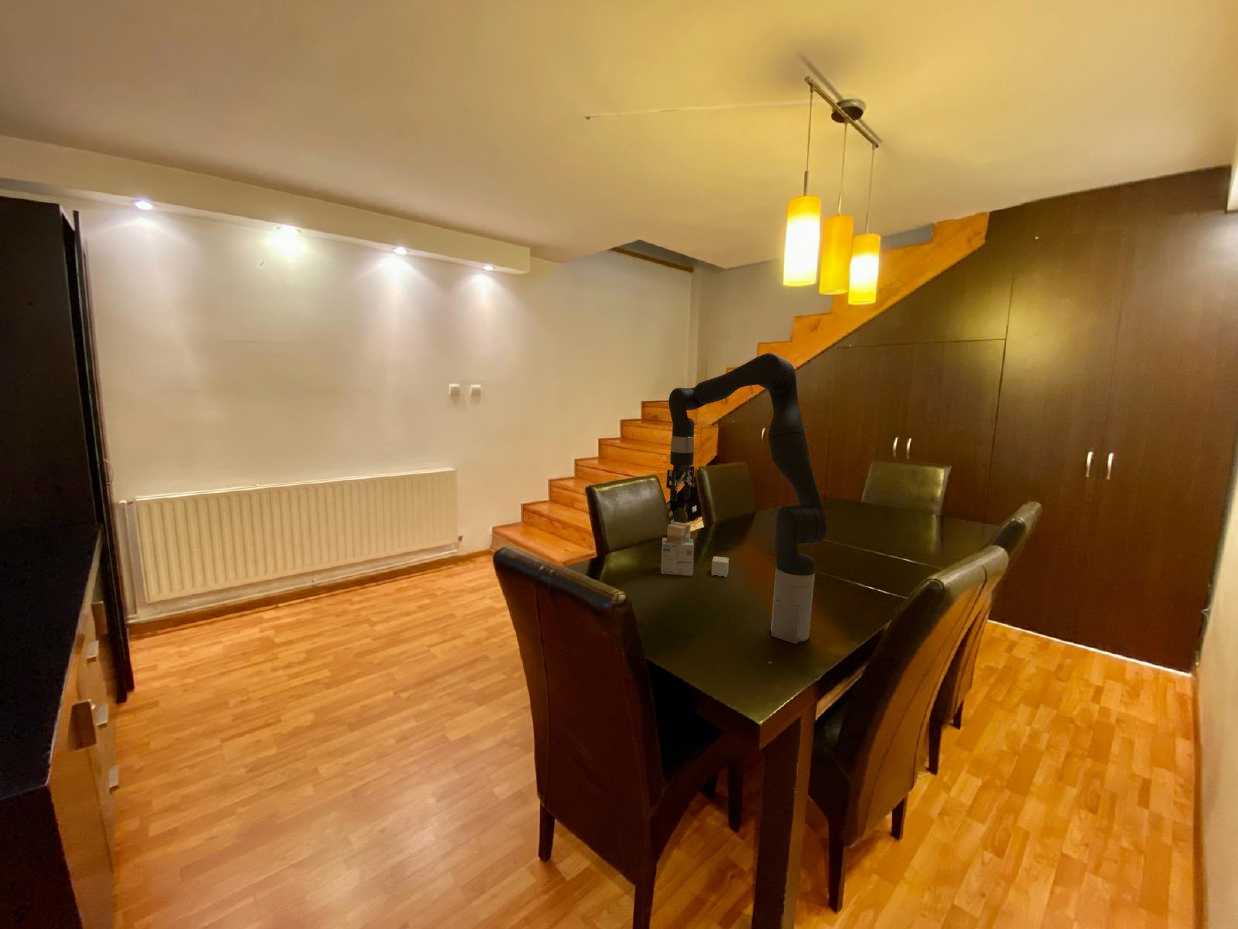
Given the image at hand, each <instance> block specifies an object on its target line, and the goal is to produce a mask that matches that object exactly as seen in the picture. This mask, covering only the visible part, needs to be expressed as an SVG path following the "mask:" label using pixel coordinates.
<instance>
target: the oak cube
mask: <svg viewBox="0 0 1238 929" xmlns="http://www.w3.org/2000/svg"><path fill="white" fill-rule="evenodd" d="M666 538H667V541H668V542H673V543H677V544H681V545H682V544H684V543H686V542H688V541H690V539H691V524H687V523H683V522H678V521H674V522H673V523H670V524H668V525H667V533H666Z"/></svg>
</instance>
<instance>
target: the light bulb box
mask: <svg viewBox="0 0 1238 929" xmlns="http://www.w3.org/2000/svg"><path fill="white" fill-rule="evenodd" d="M694 550H695V546H694V539H691V538H690V541H688V542H686V543H684V544H682V545H681V544H677V543H673V542H668V541H667V537H662V540H661V556H660V557H661V559H660V560H661V561H660V564H661V565H660V566H661V567H660V574H661V575H674V576H676V575H677V576H689V577H691V576H692V577H693V574H694V554H695V553H694Z"/></svg>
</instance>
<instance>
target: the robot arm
mask: <svg viewBox="0 0 1238 929" xmlns="http://www.w3.org/2000/svg"><path fill="white" fill-rule="evenodd" d="M749 386H760V387H761V388H763V389H765V390H767V392H769V395H770V400H771V404H772V412H773V413H772V418H771V421H770V424H769V429H768V432H767V433H768V434H767V437H768V445H769V449H770V456H771V459H772V462H773V464H774V465H775V467H776V468H777V469H778V470H779V472H780V473H781V474H782V475H783V477H785V479H786V480H787V482H788V483H789V484H790V485H791V486H792V488H793V490H794V492H795V494H796V496H797V499H798V503H799V505H786V506H782V507H781V508H780V509H779V510H778V511H777V515H776V520H775V541H774V542H775V544H774V546H775V547H774V552H775V553H774V555H775V560H776V561H775V576H774V586H773V587H774V588H773V598H772V612H771V625H770V632H771V637H773V638H775V639H779V640H783V641H786V642H789V643H792V644H795V645H796V644H798V643H803V642H805V641H808V639H809V638H810V630H811V620H812V608H813V607H812V606H813V596H814V586H815V585H814V584H815V576H816V567H817V566H816V560H815V558H812V557H811V556H809V555H807V554H804V553H802V552H800V551H799V544H818V543H821V542H824V540H825V538H826V536H827V534H828V533H827V531H828V524H827V518H826V517H827V516H826V513H825V510H824V507H823V506H824V505H823V502H822V500H821V496H820V494H819V491H818V487H817V484H816V479H815V476H814V472H813V468H812V462H811V457H810V452H809V445H808V441H807V436H806V432H805V428H804V423H803V418H802V414H801V409H800V404H799V397H798V385H797V375H796V370H795V367H794V364H792V363H791V362H790V361H789V360H787V359H785V358H784V357H782V356H780V355H778V354H776V353H772V352H767V353H763V354H760V355H759V356H757V357H755V358H753V359H751V360H750V361H749V360H748V361H747V362H746V363H743V364H741V365H740V366H738V367H736V368H734V369H732V370H730V371H728V372H725V373H724V374H721V375H719V376H716V377H713V378H709V379H706V380H703V381H701V382H699V383H697V384H696V385H695V387H676V388H674V389H672V391H671V392H670V394H669V397H668V407H669V413H670V417H671V421H672V428H671V429H672V430H671V442H670V460H669V463H670V465H672V466H673V468H672V469H668V470H667V471H666V472H667V473H666V484H665V485H666V487H665V488H666V489H669V501H670V502H673V503H674V502H675V503H676V502H677V501H678V489H679V486H680V485H681V484H683V487H682V497H684V498H690V496H691V495H690V494H691V487H692V484H695V469H696V467H695V466H693V465H694V455H695V454H694V453H695V420H694V419H692V418H691V417H689V416H688V411H692V410H693V411H694V410H696V409H700V408H702V407H704V406H705V405H709V404H712V403H715V402H716V403H717V402H720V401H723V400H725V399H727V398H729V397H730V396H731V395H733V394H734V393H735V392H737V390H739V389H741V388H744V387H749Z"/></svg>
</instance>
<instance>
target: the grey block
mask: <svg viewBox="0 0 1238 929" xmlns="http://www.w3.org/2000/svg"><path fill="white" fill-rule="evenodd" d="M729 562H730V558H729V557H725V556H724V557H723V556H722V557H721V556H713V558H712V563H711V576H714V575H718V576H717V577H721V576H724V577H723V578H727V577H728V574H729V565H730V564H729Z"/></svg>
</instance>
